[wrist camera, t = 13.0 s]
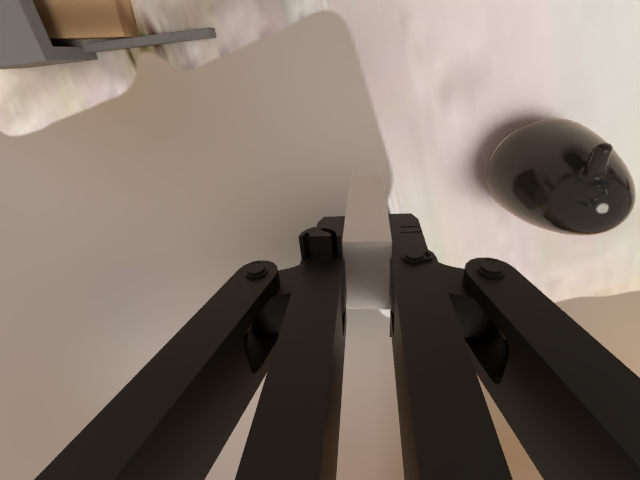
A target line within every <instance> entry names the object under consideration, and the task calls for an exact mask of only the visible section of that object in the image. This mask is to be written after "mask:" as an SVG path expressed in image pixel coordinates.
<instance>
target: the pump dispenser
mask: <svg viewBox="0 0 640 480" xmlns="http://www.w3.org/2000/svg"><path fill="white" fill-rule="evenodd" d="M487 186H488V189H489V192H490V194H491V195H492V197H493V198H494V199H495V201H496V202H497V203H498V204H499V205H500V206H501V207H503V208H504V209H505V210H507V211H508V212H510V213H511V214H513V215H514V216H516V217H518V218H519V219H521V220H523V221H525V222H527V223H530V224H532V225H534V226H537V227H540V228H543V229H546V230H549V231H553V232H557V233H562V234H568V235H595V234H600V233H604V232H607V231H609V230H611V229H613V228H615V227H617V226H618V225H620V224H621V223H622V222H624V221H625V220H626V219H627V217H628V216H629V215H630V213H631V211H632V209H633V207H634V204H635V185H634V181H633V178H632V176H631V174H630V172H629V170H628V168H627V166H626V165H625V163H624V162H623V160H622V159H621V158H620V156H619V155H618V154H617V153H616V151H615V150H614V149H613V147H612V145H611V144H609V143H607V142H606V141H605V140H604V139H603V138H601V137H600V136H599V135H597V134H596V133H595V132H593V131H592V130H590V129H589V128H587V127H585V126H584V125H582V124H579V123H577V122H574V121H571V120H567V119H561V118H549V119H542V120H538V121H535V122H532V123H529V124H527V125H525V126H523V127H521V128H519V129H517V130H515V131H514V132H512V133H511V134H509V135H508V136H507V137H505V138H504V139H503V140H502V141H501V142H500V144H499V145H498V146H497V147H496V149H495V150H494V152H493V154H492V156H491V158H490V161H489V165H488V169H487Z"/></svg>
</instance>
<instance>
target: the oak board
mask: <svg viewBox="0 0 640 480" xmlns="http://www.w3.org/2000/svg"><path fill="white" fill-rule="evenodd" d="M33 3H34V5H35V7H36V10H37V12H38V14H39V16H40V19H41V21H42V23H43V25H44V28H45V30H46V32H47V34H48V37H49V39H50V40H71V39H108V38H132V37H140V36H139V32H138V28H137V24H136V20H135V16H134V13H133V9H132V5H131V1H130V0H33Z"/></svg>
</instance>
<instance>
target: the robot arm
mask: <svg viewBox="0 0 640 480" xmlns="http://www.w3.org/2000/svg"><path fill="white" fill-rule="evenodd" d="M299 243H300V250H301V256H302V260H301V263H300V265H298V266H295V267H292V268H289V269H284V270H279V271H278V269H277V266H276V265H275V264H274V263H273V262H270V261H254V262H251V263H249V264H246V265H244V266H243V267H241V268H240V269H239V270H238V271H237V272H236V273H235V274H234V275H233V276H232V277H231V278H230V279H229V280H228V281H227V282H226V283H225V284H224V285H223V286H222V287H221V288H220V289H219V290H218V291H217V292H216V293H215V295H213V296H212V297H211V298H210V300H209V301H208V302H207V303H206V304H205V305H204V306H203V307H202V308H201V309H200V310H199V311H198V312H197V313H196V314H195V315H194V316H193V317H192V318H191V319H190V320H189V321H188V322H187V323H186V324H185V325H184V326H183V327H182V328H181V329H180V330H179V331H178V332H177V333H176V335H175V336H174V337H173V338H172V339H171V340H170V341H169V342H168V343H167V344H166V345H165V346H164V347H163V348H162V349H161V350H160V351H159V352H158V353H157V354H156V355H155V356H154V357H153V358H152V359H151V360H150V361H149V362H148V363H147V364H146V365H145V366H144V367H143V369H142V370H140V371H139V373H138V374H137V375H136V376H135V377H134V378H133V379H132V380H131V381H130V382H129V383H128V384H127V385H126V386H125V387H124V388H123V389H122V390H121V391H120V392H119V393H118V394H117V395H116V396H115V397H114V398H113V399H112V400H111V401H110V402H109V403H108V404H107V405H106V406H105V408H103V410H102V411H101V412H100V413H99V414H98V415H97V416H96V417H95V418H94V419H93V420H92V421H91V422H90V423H89V424H88V425H87V426H86V427H85V428H84V429H83V430H82V431H81V432H80V433H79V434H78V435H77V436H76V437H75V438H74V439H73V440H72V441H71V442H70V443H69V444H68V445H67V447H66V448H65V449H64V450H63V451H62V452H61V453H60V454H59V455H58V456H57V457H56V458H55V459H54V460H53V461H52V462H51V463H50V464H49V465H48V466H47V467H46V468H45V469H44V470H43V471H42V472H41V473H40V474H39V475H38V476H37V477H36V478H35V479H34V480H204V479H205V477H206V476H207V474H208V473H209V471H210V469H211V468H212V466H213V464H214V462H215V461H216V459H217V457H218V456H219V454H220V452H221V450H222V449H223V447H224V445H225V443H226V442H227V440H228V438H229V436H230V435H231V433H232V432H233V430H234V428H235V426H236V425H237V423H238V421H239V420H240V418H241V416H242V414H243V412H244V411H245V409H246V408H247V406H248V404H249V402H250V401H251V399H252V397H253V395H254V394H255V392H256V390H257V389H258V387H259V385H260V383H261V382H262V380H263V378H264V377H265V375H266V373H267V376H266V379H265V382H264V385H263V388H262V392H261V395H260V398H259V402H258V405H257V408H256V412H255V415H254V418H253V421H252V425H251V428H250V432H249V435H248V438H247V441H246V445H245V448H244V451H243V455H242V458H241V461H240V465H239V468H238V471H237V474H236V478H235V480H336V472H337V457H338V442H339V427H340V411H341V396H342V381H343V366H344V350H345V336H346V335H345V334H346V309H390V307H391V312H390V337H392V345H393V356H394V367H395V379H396V390H397V400H398V412H399V423H400V434H401V444H402V445H401V446H402V456H403V468H404V478H405V480H512V477H511V474H510V471H509V468H508V465H507V462H506V459H505V456H504V453H503V450H502V448H501V445H500V442H499V439H498V436H497V433H496V430H495V427H494V424H493V421H492V419H491V415H490V412H489V409H488V407H487V404H486V401H485V398H484V395H483V392H482V389H481V386H480V383H479V380H478V378H477V375H478V376H479V378H480V380H481V381H482V383H483V385H484V386H485V388H486V389H487V391H488V392H489V394H490V396H491V397H492V399H493V400H494V402H495V403H496V405H497V406H498V408H499V410H500V411H501V413H502V414H503V416H504V418H505V419H506V421H507V422H508V424H509V425H510V427H511V429H512V430H513V432H514V433H515V435H516V437H517V438H518V440H519V441H520V443H521V444H522V446H523V448H524V449H525V451H526V452H527V454H528V455H529V457H530V459H531V460H532V462H533V463H534V465H535V466H536V468H537V470H538V471H539V473H540V474H541V476H542V477H543V479H544V480H640V378H639V377H638V376H637V375H636V374H634V373H633V372H632V371H631V370H630V369H629V368H628V367H626V366H625V365H624V364H623V363H622V362H621V361H620V360H618V359H617V358H616V357H615V356H614V355H613V354H612V353H610V352H609V351H608V350H607V349H606V348H605V347H603V346H602V345H601V344H600V343H599V342H598V341H597V340H596V339H595V338H593V337H592V336H591V335H590V334H589V333H588V332H587V331H585V330H584V329H583V328H582V327H581V326H580V325H579V324H577V323H576V322H575V321H574V320H573V319H572V318H571V317H569V316H568V315H567V314H566V313H565V312H564V311H562V310H561V309H560V308H559V307H558V306H557V305H556V304H555V303H553V302H552V301H551V300H550V299H549V298H548V297H547V296H545V295H544V294H543V293H542V292H541V291H540V290H539V289H537V288H536V287H535V286H534V285H533V284H532V283H531V282H529V281H528V280H527V279H526V278H525V277H524V276H523V275H522V274H520V273H519V272H518V271H517V270H516V269H515V268H514V267H512V266H510V265H509V264H507V263H506V262H503V261H500V260H497V259H493V258H476V259H472V260H470V261H469V262H467V263H466V265H465V269H461V268H456V267H451V266H447V265H444V264H441V263H439V262H438V260H437V258H436V256H435V255H434V253H433V252H431V251H429V250H428V248H427V245H426V242H425V239H424V236H423V233H422V230H421V227H420V223H419V220H418V219H417V218H416V217H415V216H414V215H412V214H388V210H387V203H386V196H385V189H384V182H383V175H382V171H372V172H353V173H350V181H349V190H348V198H347V206H346V214H345V216H339V217H324V218H322V219H321V220H320V221H319V222H318V224H317V227H313V228H310V229H307V230H305V231H304V232H302V233H301V234H300V235H299ZM476 373H477V374H476Z"/></svg>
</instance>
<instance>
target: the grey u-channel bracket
mask: <svg viewBox="0 0 640 480" xmlns="http://www.w3.org/2000/svg"><path fill="white" fill-rule="evenodd" d="M215 37H216V34H215V30H214V28H202V29H194V30H186V31H179V32H171V33H163V34H156V35H148V36H140V37H132V38H125V39H117V40H109V41H101V42H94V43H86V44H82V45H83V47H53V46H52V44H51V41H50V39H49V37H48V34H47V32H46V30H45V28H44V25H43V23H42V21H41V19H40V16H39V14H38V12H37V10H36V7H35V5H34V3H33V0H0V69H13V68H29V67H37V66H46V65H54V64H63V63H71V62H79V61H88V60H96V59H97V56H96V54H95V52H102V51H110V50H118V49H126V48H134V47H142V46H151V45H159V44H167V43H175V42H183V41H191V40H199V39H207V38H215Z"/></svg>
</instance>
